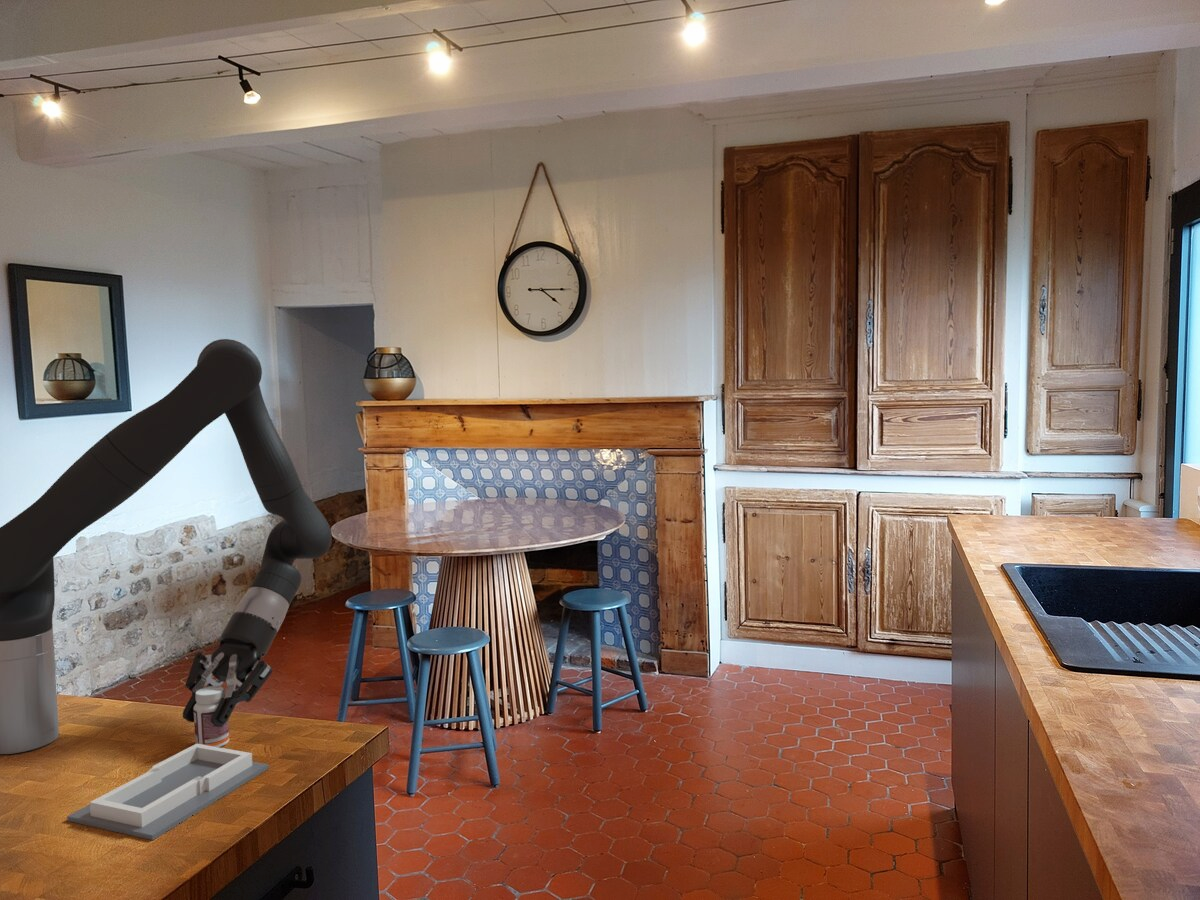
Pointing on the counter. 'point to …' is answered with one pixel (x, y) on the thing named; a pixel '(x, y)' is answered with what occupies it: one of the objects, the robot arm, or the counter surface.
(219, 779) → the walled tray base
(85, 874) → the counter surface
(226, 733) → the pill bottle
